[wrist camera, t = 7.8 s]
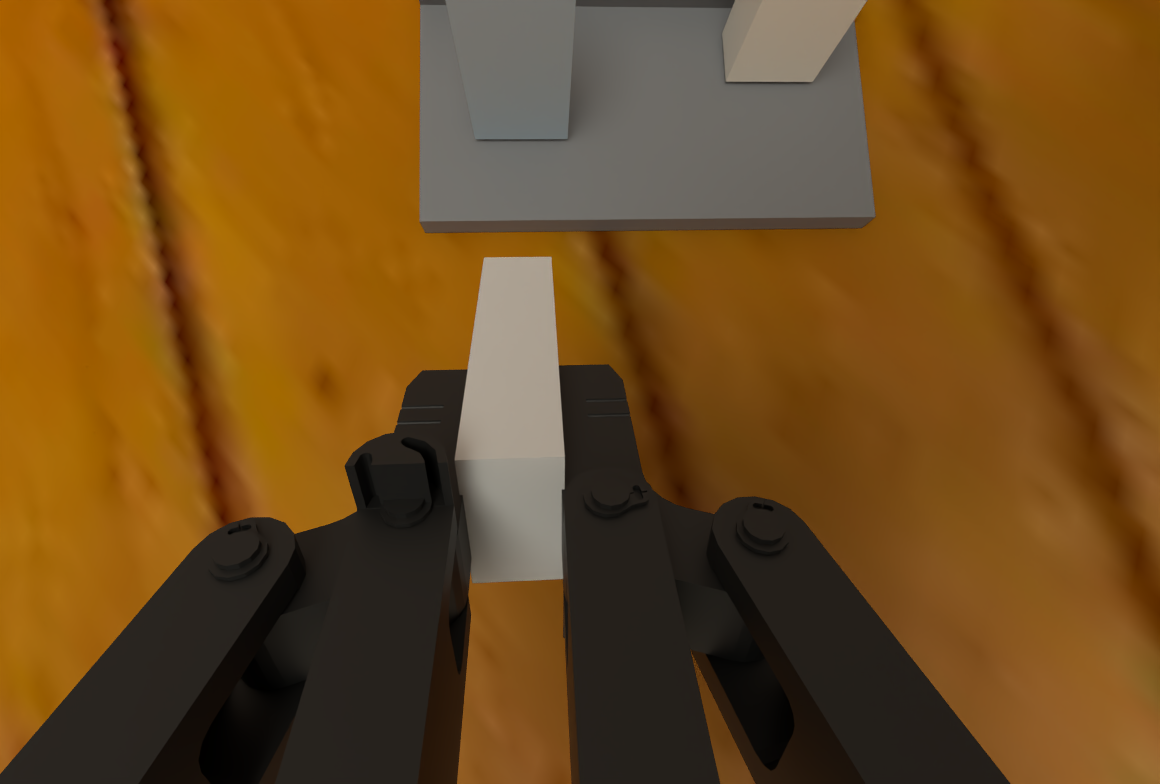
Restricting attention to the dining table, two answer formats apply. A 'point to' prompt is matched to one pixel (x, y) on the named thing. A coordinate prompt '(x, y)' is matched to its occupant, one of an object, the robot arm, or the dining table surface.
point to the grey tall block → (515, 65)
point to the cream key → (783, 38)
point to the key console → (649, 135)
